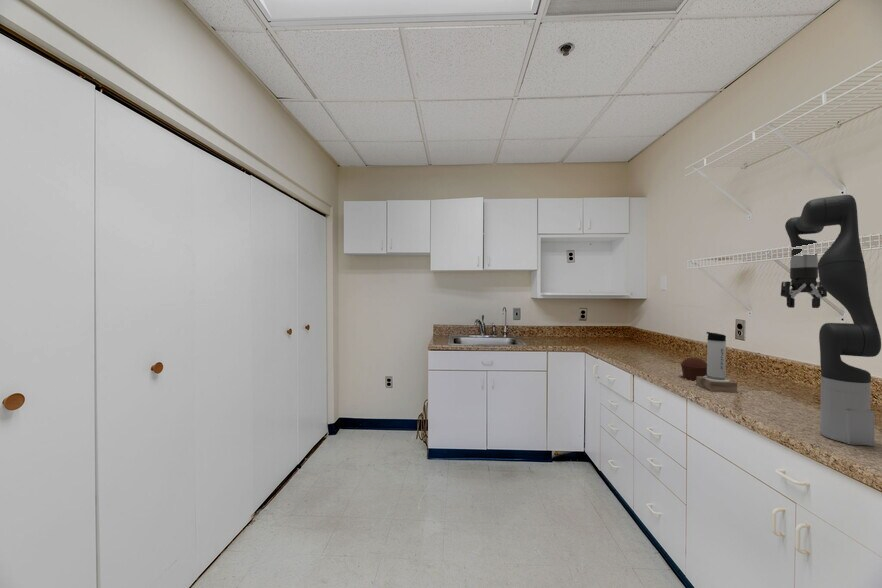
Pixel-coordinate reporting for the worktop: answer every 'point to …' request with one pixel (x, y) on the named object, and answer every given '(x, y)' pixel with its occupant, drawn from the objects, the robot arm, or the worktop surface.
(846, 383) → the robot arm
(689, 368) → the muffin
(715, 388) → the walnut stand
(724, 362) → the travel mug
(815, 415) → the worktop surface
